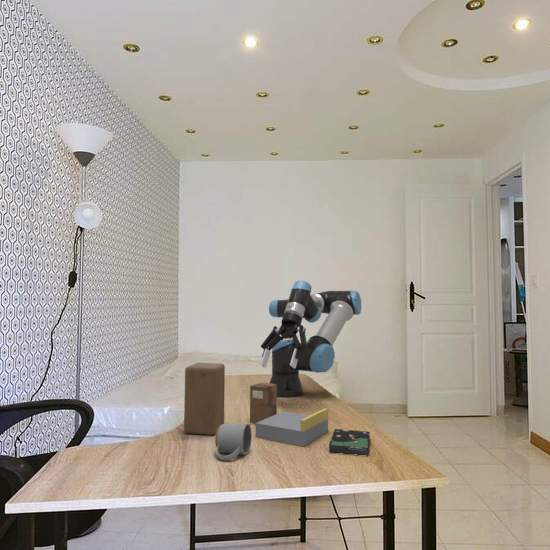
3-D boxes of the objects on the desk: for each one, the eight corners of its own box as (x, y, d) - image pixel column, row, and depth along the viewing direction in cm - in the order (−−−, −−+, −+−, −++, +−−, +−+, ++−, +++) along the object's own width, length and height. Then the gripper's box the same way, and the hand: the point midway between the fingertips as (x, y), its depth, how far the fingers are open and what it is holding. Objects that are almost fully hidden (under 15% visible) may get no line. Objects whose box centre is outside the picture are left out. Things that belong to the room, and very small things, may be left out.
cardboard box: (261, 417, 149) (262, 382, 150) (276, 420, 146) (276, 384, 147) (249, 422, 143) (250, 385, 144) (265, 425, 140) (265, 387, 141)
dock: (283, 423, 142) (283, 402, 142) (328, 431, 133) (328, 408, 134) (255, 436, 128) (255, 412, 129) (303, 446, 120) (303, 420, 120)
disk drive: (334, 438, 129) (328, 454, 115) (334, 428, 129) (328, 443, 115) (369, 441, 127) (368, 458, 112) (369, 431, 127) (368, 447, 113)
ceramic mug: (223, 446, 120) (223, 418, 120) (252, 448, 118) (252, 420, 118) (208, 460, 109) (208, 429, 110) (239, 463, 107) (239, 432, 108)
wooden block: (214, 436, 129) (215, 367, 130) (182, 434, 131) (183, 366, 132) (225, 426, 138) (225, 363, 140) (195, 424, 140) (196, 362, 142)
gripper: (263, 313, 175) (245, 361, 164) (315, 309, 159) (300, 362, 148) (273, 322, 179) (257, 370, 168) (325, 320, 164) (311, 372, 153)
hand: (277, 366), depth 158 cm, fingers open, 13 cm apart
